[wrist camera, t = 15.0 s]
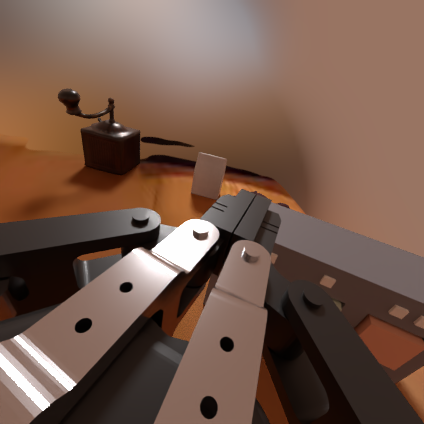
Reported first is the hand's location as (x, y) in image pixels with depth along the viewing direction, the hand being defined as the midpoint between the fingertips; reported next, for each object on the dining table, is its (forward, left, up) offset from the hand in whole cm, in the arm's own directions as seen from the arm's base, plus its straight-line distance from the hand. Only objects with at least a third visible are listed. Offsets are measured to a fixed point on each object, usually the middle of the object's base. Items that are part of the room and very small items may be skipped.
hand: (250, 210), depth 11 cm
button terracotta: (+13, -13, -16) cm, 24 cm away
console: (+14, -6, -21) cm, 26 cm away
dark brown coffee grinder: (+24, +47, -22) cm, 57 cm away
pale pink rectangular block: (+34, +22, -22) cm, 46 cm away
